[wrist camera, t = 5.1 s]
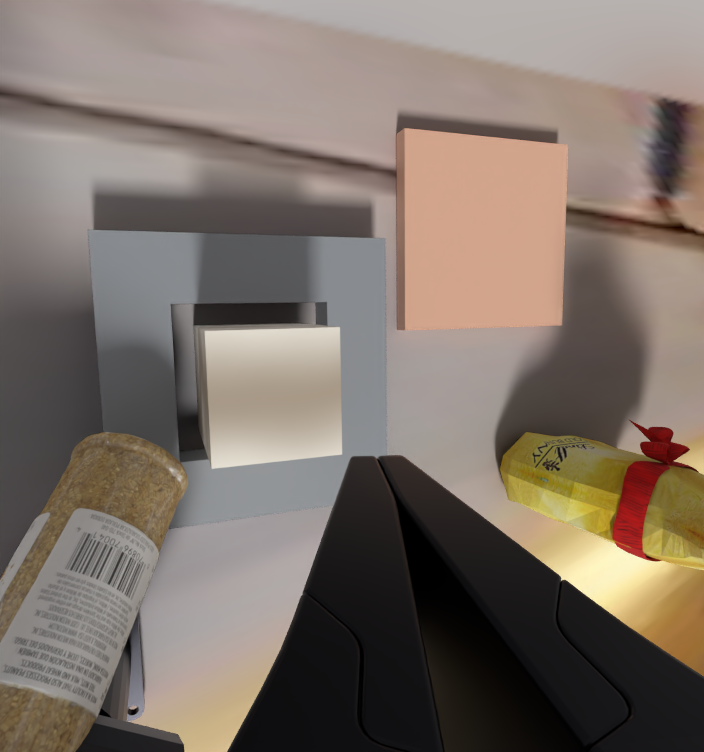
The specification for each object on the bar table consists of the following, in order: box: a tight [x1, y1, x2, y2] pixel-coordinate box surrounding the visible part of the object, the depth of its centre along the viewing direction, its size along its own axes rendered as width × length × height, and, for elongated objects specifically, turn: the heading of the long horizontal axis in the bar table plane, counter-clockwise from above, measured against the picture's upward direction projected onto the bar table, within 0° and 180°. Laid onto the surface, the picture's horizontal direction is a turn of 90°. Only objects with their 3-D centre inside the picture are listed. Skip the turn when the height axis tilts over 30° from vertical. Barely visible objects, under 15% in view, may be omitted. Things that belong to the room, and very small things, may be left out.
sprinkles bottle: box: [0, 432, 188, 752], centre depth 17 cm, size 5×5×14 cm
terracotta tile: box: [396, 128, 568, 330], centre depth 29 cm, size 10×10×1 cm
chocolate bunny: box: [500, 420, 704, 570], centre depth 27 cm, size 7×11×15 cm, turn 75°
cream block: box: [193, 323, 342, 469], centre depth 23 cm, size 5×5×7 cm
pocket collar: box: [88, 230, 387, 529], centre depth 26 cm, size 13×13×2 cm
